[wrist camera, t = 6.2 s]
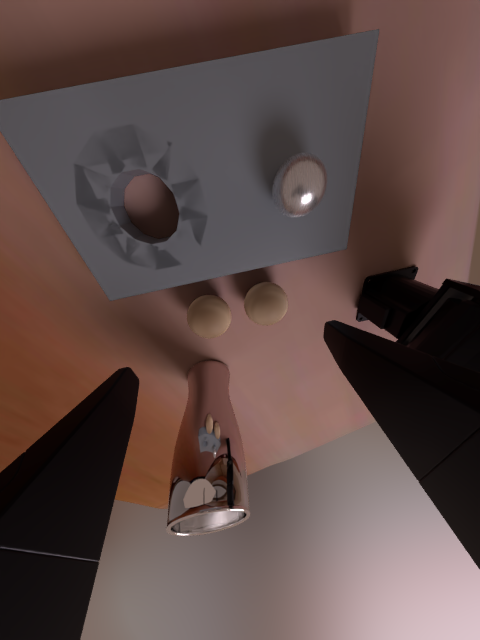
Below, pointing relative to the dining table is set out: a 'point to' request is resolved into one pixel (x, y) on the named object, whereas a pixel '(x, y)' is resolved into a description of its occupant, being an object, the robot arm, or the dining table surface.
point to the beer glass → (208, 458)
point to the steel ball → (299, 185)
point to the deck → (200, 159)
